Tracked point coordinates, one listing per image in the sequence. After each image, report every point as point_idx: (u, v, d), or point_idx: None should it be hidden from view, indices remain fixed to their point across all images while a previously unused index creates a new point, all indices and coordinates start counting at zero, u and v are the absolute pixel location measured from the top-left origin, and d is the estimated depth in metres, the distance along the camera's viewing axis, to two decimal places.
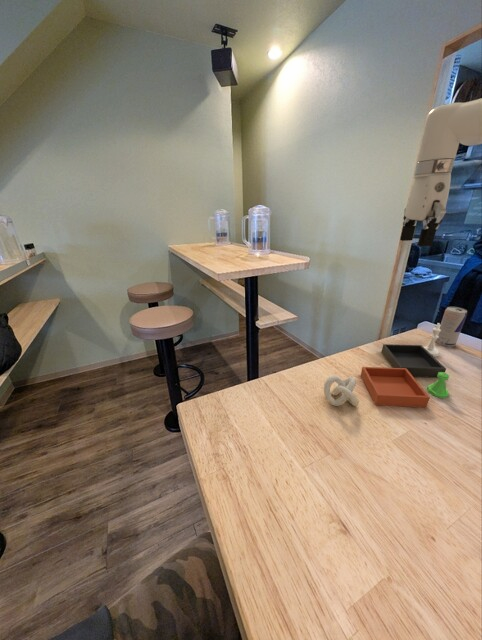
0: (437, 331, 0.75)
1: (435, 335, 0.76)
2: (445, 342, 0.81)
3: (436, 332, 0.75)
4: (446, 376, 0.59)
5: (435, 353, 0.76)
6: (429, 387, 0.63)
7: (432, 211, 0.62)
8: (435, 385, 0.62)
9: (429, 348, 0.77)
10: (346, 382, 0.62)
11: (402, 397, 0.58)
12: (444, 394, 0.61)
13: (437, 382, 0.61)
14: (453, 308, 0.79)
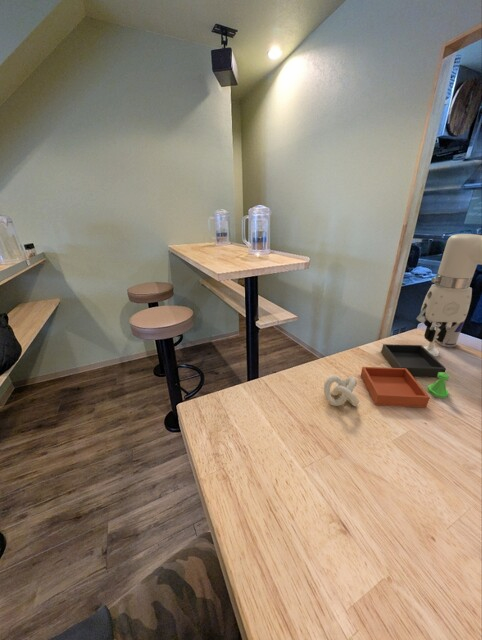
0: (437, 331, 0.75)
1: (435, 335, 0.76)
2: (445, 342, 0.81)
3: (436, 332, 0.75)
4: (446, 376, 0.59)
5: (435, 353, 0.76)
6: (429, 387, 0.63)
7: None
8: (435, 385, 0.62)
9: (429, 348, 0.77)
10: (346, 382, 0.62)
11: (402, 397, 0.58)
12: (444, 394, 0.61)
13: (437, 382, 0.61)
14: None
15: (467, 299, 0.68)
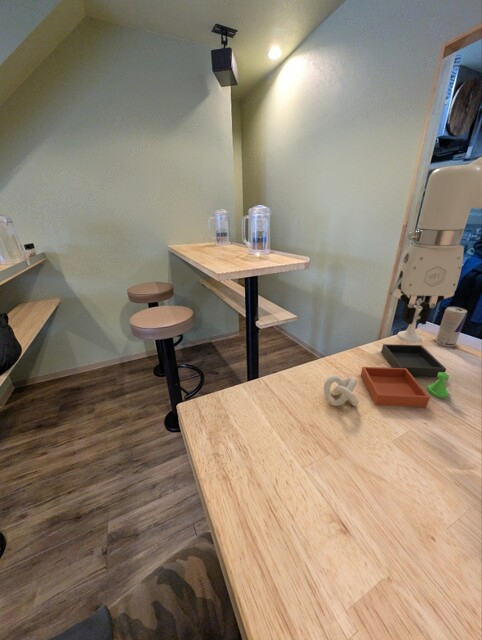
0: (418, 309, 0.55)
1: (415, 315, 0.56)
2: (445, 342, 0.81)
3: (417, 311, 0.56)
4: (446, 376, 0.59)
5: (416, 339, 0.57)
6: (429, 387, 0.63)
7: None
8: (435, 385, 0.62)
9: (408, 333, 0.58)
10: (346, 382, 0.62)
11: (402, 397, 0.58)
12: (444, 394, 0.61)
13: (437, 382, 0.61)
14: (453, 308, 0.79)
15: (458, 261, 0.49)
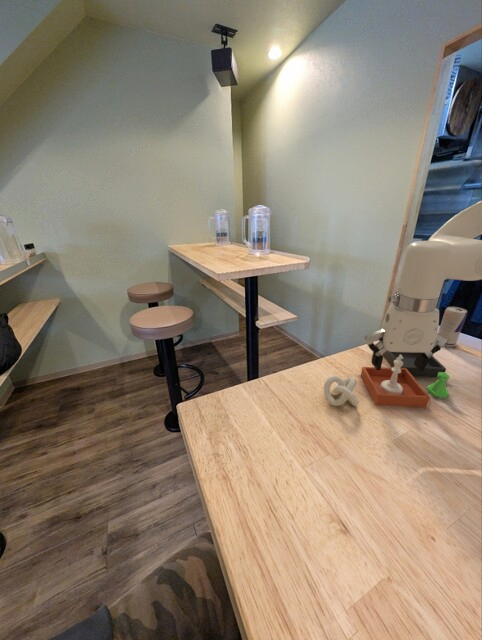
0: (399, 365, 0.60)
1: (396, 369, 0.61)
2: None
3: (398, 366, 0.60)
4: (446, 376, 0.59)
5: (397, 391, 0.61)
6: (429, 387, 0.63)
7: None
8: (435, 385, 0.62)
9: (391, 384, 0.62)
10: (346, 382, 0.62)
11: (402, 397, 0.58)
12: (444, 394, 0.61)
13: (437, 382, 0.61)
14: (453, 308, 0.79)
15: (434, 324, 0.53)
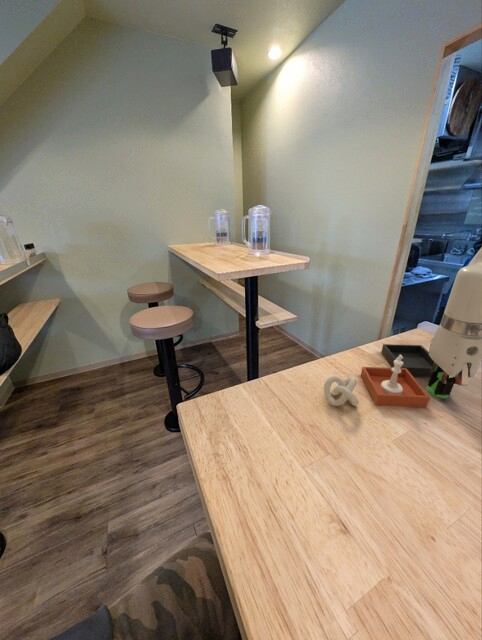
0: (399, 365, 0.60)
1: (396, 369, 0.61)
2: None
3: (398, 366, 0.60)
4: None
5: (397, 391, 0.61)
6: (429, 387, 0.63)
7: None
8: (435, 385, 0.62)
9: (391, 384, 0.62)
10: (346, 382, 0.62)
11: (402, 397, 0.58)
12: None
13: (437, 382, 0.61)
14: None
15: None
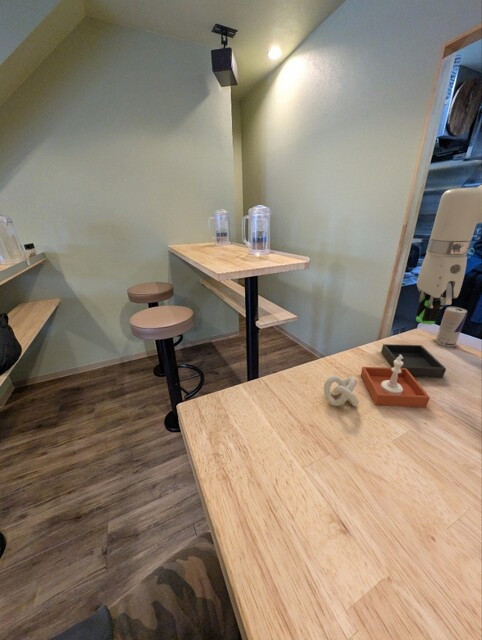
0: (399, 365, 0.60)
1: (396, 369, 0.61)
2: (445, 342, 0.81)
3: (398, 366, 0.60)
4: None
5: (397, 391, 0.61)
6: (417, 317, 0.67)
7: None
8: (423, 313, 0.65)
9: (391, 384, 0.62)
10: (346, 382, 0.62)
11: (402, 397, 0.58)
12: (431, 321, 0.64)
13: (424, 310, 0.65)
14: (453, 308, 0.79)
15: None
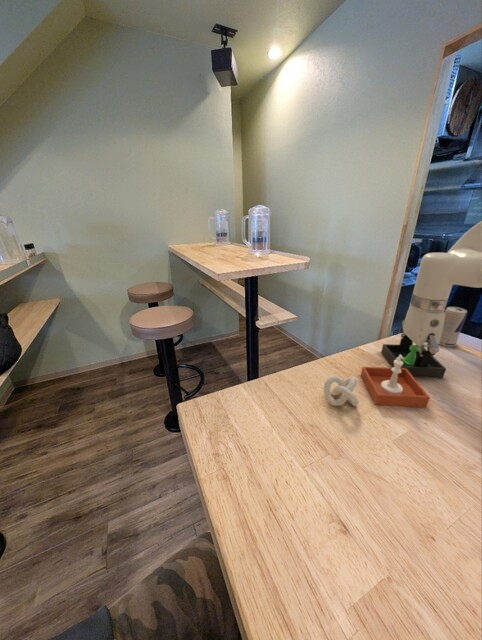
0: (399, 365, 0.60)
1: (396, 369, 0.61)
2: (445, 342, 0.81)
3: (398, 366, 0.60)
4: (416, 348, 0.70)
5: (397, 391, 0.61)
6: (403, 359, 0.74)
7: None
8: (408, 356, 0.72)
9: (391, 384, 0.62)
10: (346, 382, 0.62)
11: (402, 397, 0.58)
12: None
13: (409, 354, 0.72)
14: (453, 308, 0.79)
15: None
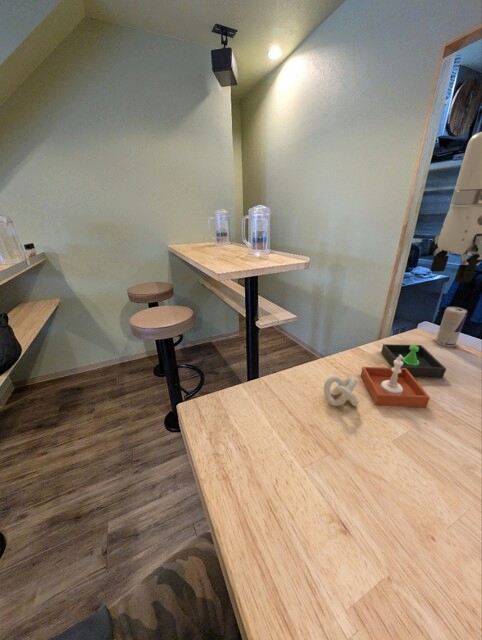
0: (399, 365, 0.60)
1: (396, 369, 0.61)
2: (445, 342, 0.81)
3: (398, 366, 0.60)
4: (416, 348, 0.70)
5: (397, 391, 0.61)
6: (403, 359, 0.74)
7: (472, 244, 0.56)
8: (408, 356, 0.72)
9: (391, 384, 0.62)
10: (346, 382, 0.62)
11: (402, 397, 0.58)
12: (415, 364, 0.71)
13: (409, 354, 0.72)
14: (453, 308, 0.79)
15: None
